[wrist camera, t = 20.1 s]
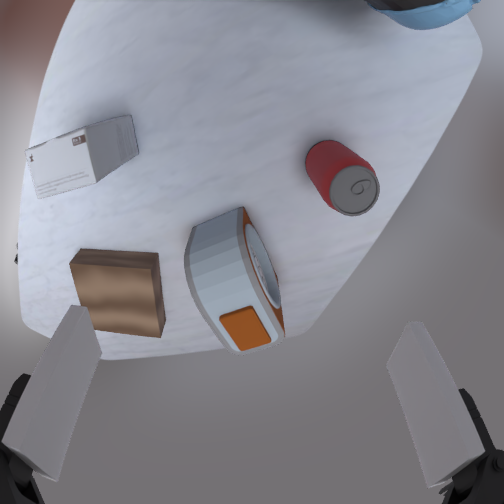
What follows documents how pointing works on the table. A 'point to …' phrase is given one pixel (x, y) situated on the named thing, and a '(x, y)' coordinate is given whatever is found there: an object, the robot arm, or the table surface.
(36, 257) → the table surface
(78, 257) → the walnut block
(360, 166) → the beer can
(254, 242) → the alarm clock
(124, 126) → the skincare box
